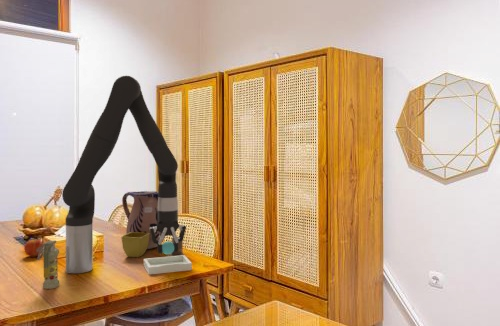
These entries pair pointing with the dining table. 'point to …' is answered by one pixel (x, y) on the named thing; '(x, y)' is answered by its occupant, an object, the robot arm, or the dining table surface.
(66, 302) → the dining table surface
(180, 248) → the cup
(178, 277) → the dining table surface
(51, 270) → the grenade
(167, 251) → the ball
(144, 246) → the flower pot
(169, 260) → the tray
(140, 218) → the ceramic pitcher
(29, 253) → the fruit
